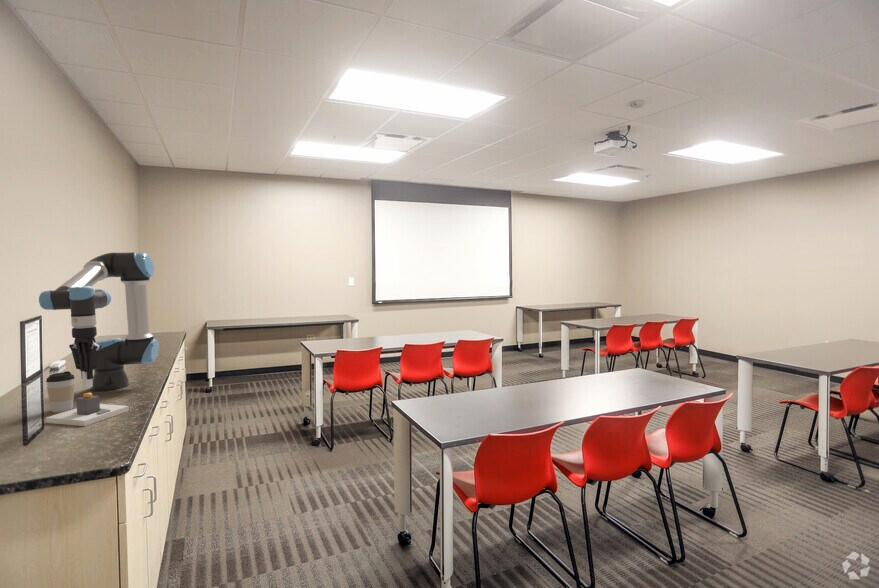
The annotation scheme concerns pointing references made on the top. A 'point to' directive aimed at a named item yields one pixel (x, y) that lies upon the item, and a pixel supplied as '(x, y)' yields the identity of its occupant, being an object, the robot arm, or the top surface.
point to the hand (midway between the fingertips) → (87, 387)
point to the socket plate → (84, 420)
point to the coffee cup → (61, 391)
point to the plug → (88, 404)
